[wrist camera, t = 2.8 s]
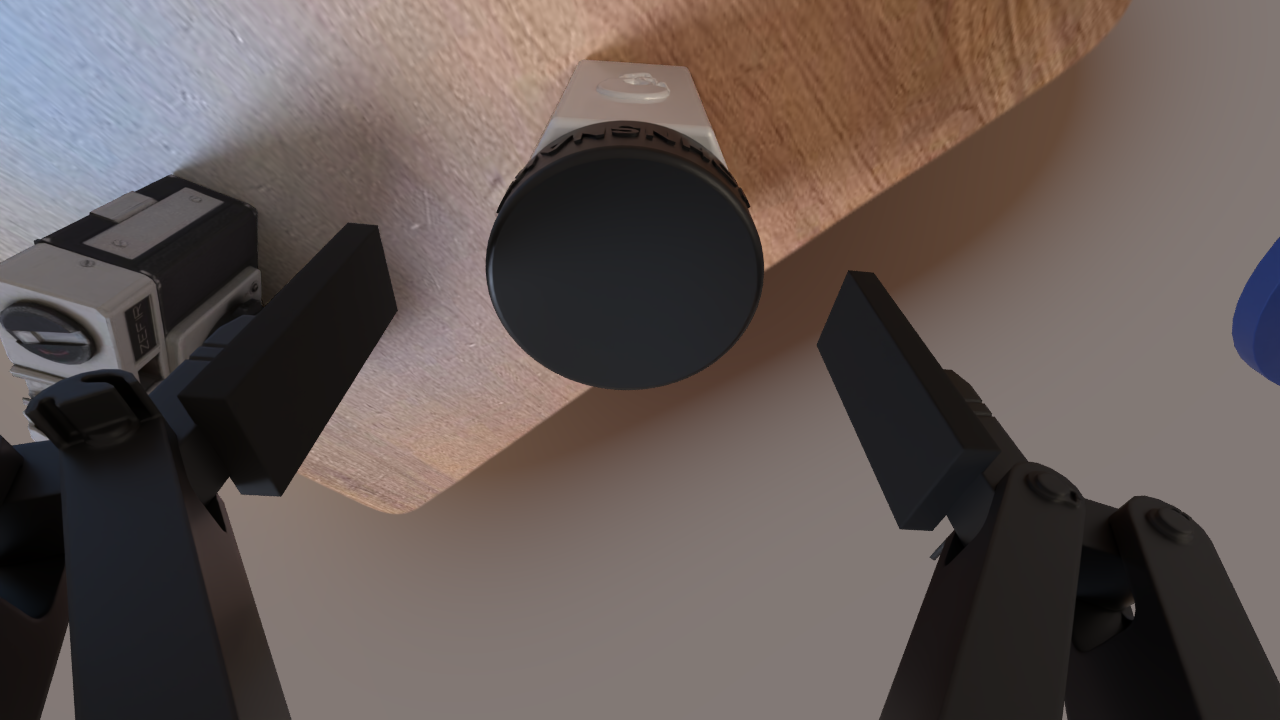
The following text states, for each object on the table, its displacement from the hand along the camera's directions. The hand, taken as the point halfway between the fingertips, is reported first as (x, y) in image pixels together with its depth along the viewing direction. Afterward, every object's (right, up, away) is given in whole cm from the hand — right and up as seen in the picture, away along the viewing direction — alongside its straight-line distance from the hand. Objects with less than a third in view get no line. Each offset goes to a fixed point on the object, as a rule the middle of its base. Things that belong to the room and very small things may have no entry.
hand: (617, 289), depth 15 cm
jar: (0, +8, +9) cm, 12 cm away
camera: (-22, +1, +15) cm, 27 cm away
